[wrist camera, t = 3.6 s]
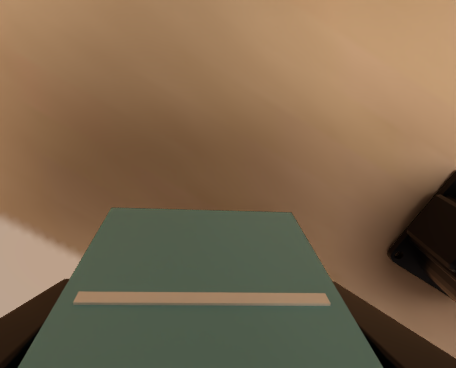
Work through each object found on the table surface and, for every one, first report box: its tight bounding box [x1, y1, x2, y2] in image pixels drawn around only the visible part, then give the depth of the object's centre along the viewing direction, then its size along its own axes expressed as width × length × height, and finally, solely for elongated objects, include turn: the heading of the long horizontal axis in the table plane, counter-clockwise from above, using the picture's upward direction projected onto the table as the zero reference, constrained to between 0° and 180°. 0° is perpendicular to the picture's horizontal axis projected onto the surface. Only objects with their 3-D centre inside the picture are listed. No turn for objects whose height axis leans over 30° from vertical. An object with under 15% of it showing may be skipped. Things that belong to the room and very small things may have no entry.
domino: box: [18, 208, 383, 368], centre depth 7 cm, size 2×5×8 cm, turn 87°
